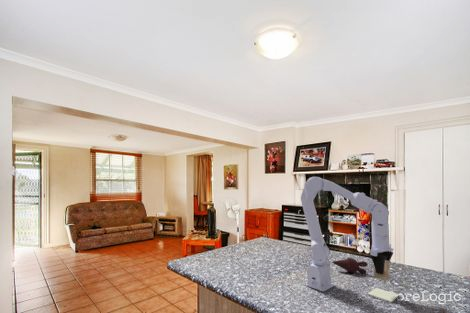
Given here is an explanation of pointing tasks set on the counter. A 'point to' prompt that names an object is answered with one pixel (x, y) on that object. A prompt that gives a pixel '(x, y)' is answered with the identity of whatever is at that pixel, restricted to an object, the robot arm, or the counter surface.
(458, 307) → the counter surface
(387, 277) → the block
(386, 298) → the coaster
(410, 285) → the counter surface
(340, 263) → the icecream
